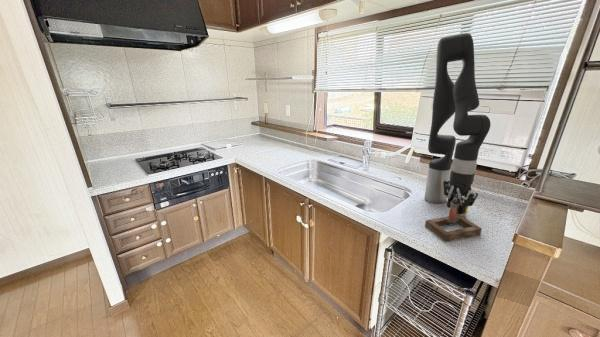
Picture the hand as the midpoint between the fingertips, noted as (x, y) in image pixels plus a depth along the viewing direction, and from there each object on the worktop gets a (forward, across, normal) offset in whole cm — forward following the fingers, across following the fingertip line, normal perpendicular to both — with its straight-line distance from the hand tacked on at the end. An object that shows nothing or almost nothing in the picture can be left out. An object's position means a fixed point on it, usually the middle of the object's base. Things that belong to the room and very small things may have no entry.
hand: (455, 210), depth 95 cm
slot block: (+9, 0, 0) cm, 9 cm away
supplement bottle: (+10, -9, +12) cm, 18 cm away
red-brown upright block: (+4, 0, 0) cm, 4 cm away
